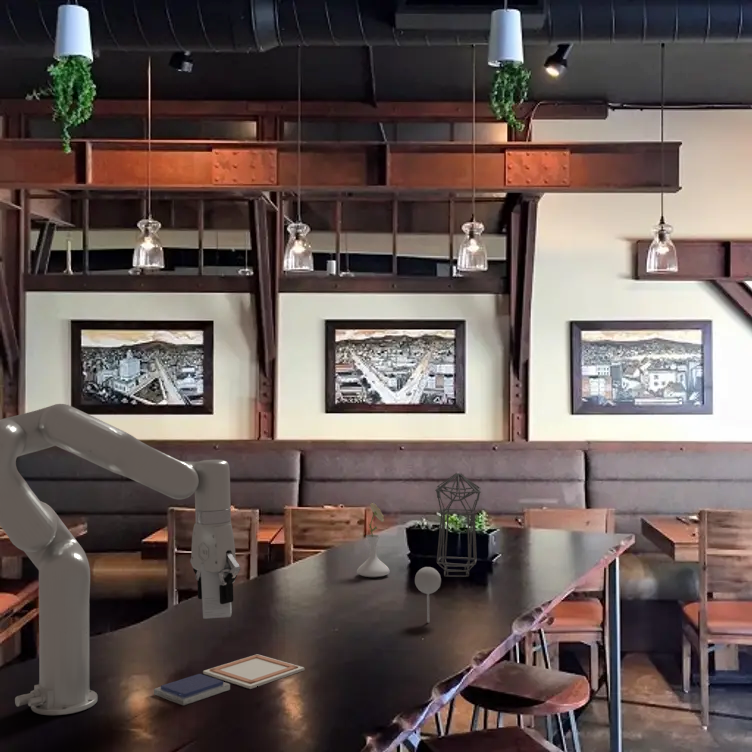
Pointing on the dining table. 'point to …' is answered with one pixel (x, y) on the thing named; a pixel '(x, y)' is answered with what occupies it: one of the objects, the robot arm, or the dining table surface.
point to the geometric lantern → (475, 490)
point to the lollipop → (427, 583)
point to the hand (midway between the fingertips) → (215, 599)
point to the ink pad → (191, 689)
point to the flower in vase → (373, 552)
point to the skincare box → (213, 595)
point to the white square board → (253, 671)
